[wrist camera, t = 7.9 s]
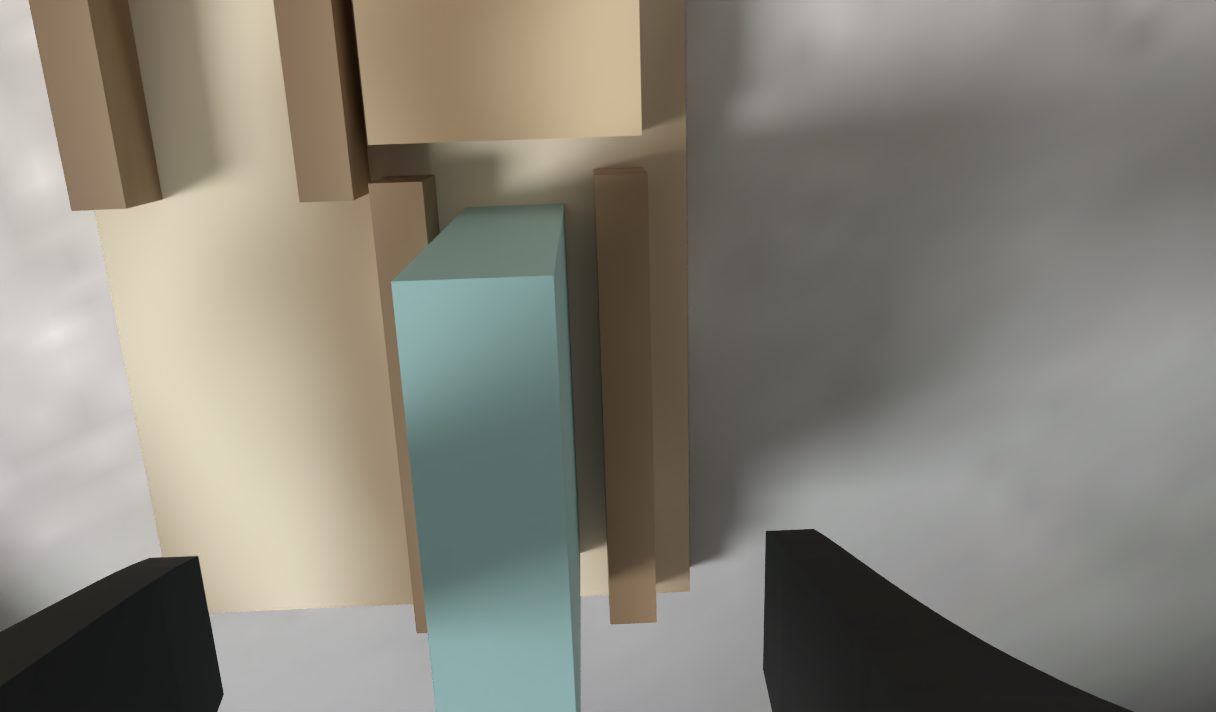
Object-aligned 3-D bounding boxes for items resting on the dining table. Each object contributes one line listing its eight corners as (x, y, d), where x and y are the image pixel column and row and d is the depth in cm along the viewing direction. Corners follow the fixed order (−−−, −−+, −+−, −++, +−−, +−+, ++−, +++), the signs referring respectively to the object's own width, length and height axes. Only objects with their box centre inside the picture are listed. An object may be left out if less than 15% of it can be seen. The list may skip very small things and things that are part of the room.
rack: (676, -347, 16) (693, -423, 14) (685, 569, 22) (697, 628, 19) (18, -331, 16) (-81, -406, 14) (192, 591, 21) (143, 653, 19)
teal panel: (564, 203, 18) (553, 274, 11) (580, 552, 20) (580, 803, 13) (466, 207, 18) (391, 282, 11) (493, 556, 20) (445, 809, 13)
